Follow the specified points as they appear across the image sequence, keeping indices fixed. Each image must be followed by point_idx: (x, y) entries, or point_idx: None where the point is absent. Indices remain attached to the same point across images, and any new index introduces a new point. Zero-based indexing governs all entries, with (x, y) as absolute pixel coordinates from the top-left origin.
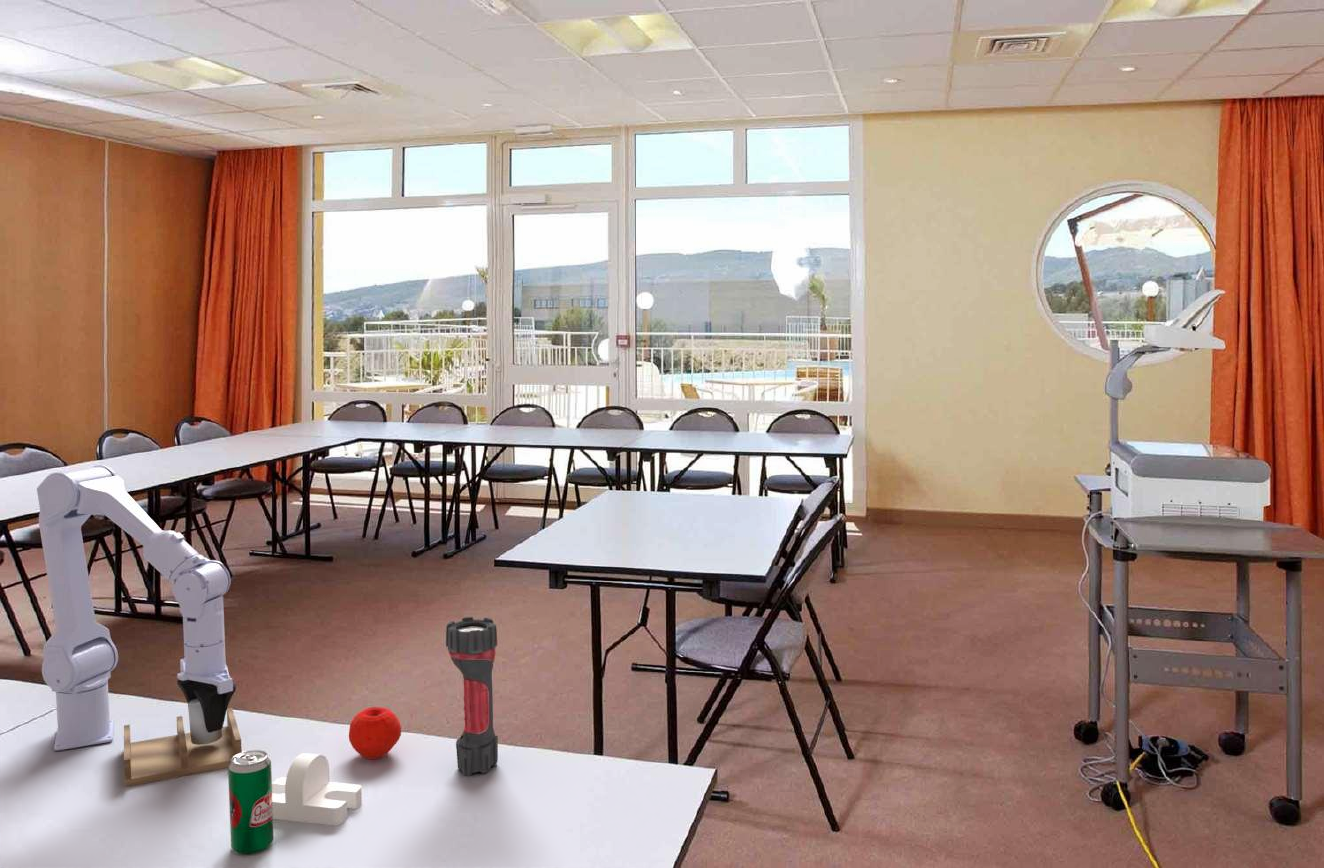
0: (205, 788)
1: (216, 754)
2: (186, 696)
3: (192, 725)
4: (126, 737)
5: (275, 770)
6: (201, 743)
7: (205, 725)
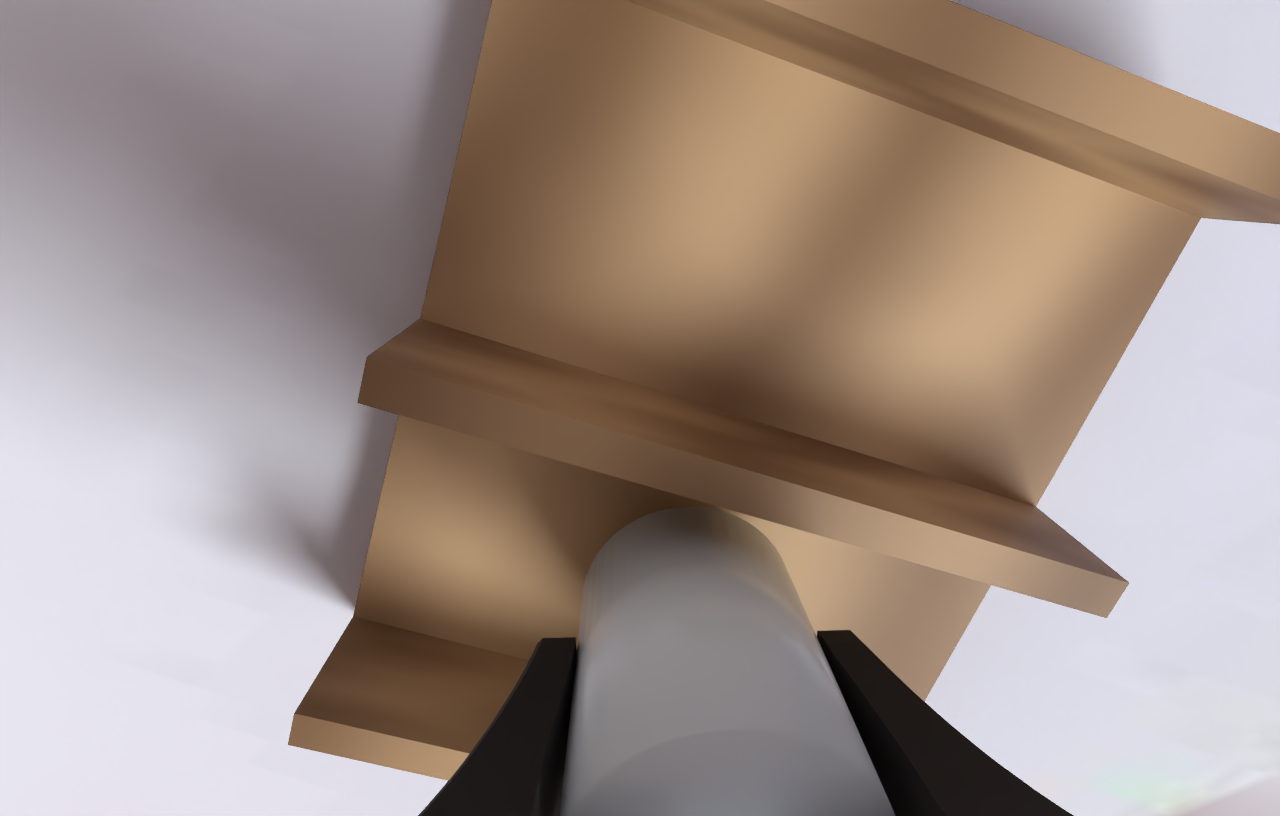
0: (139, 345)
1: (513, 563)
2: (998, 812)
3: (669, 592)
4: (1072, 80)
5: (164, 703)
6: (608, 546)
7: (566, 665)
